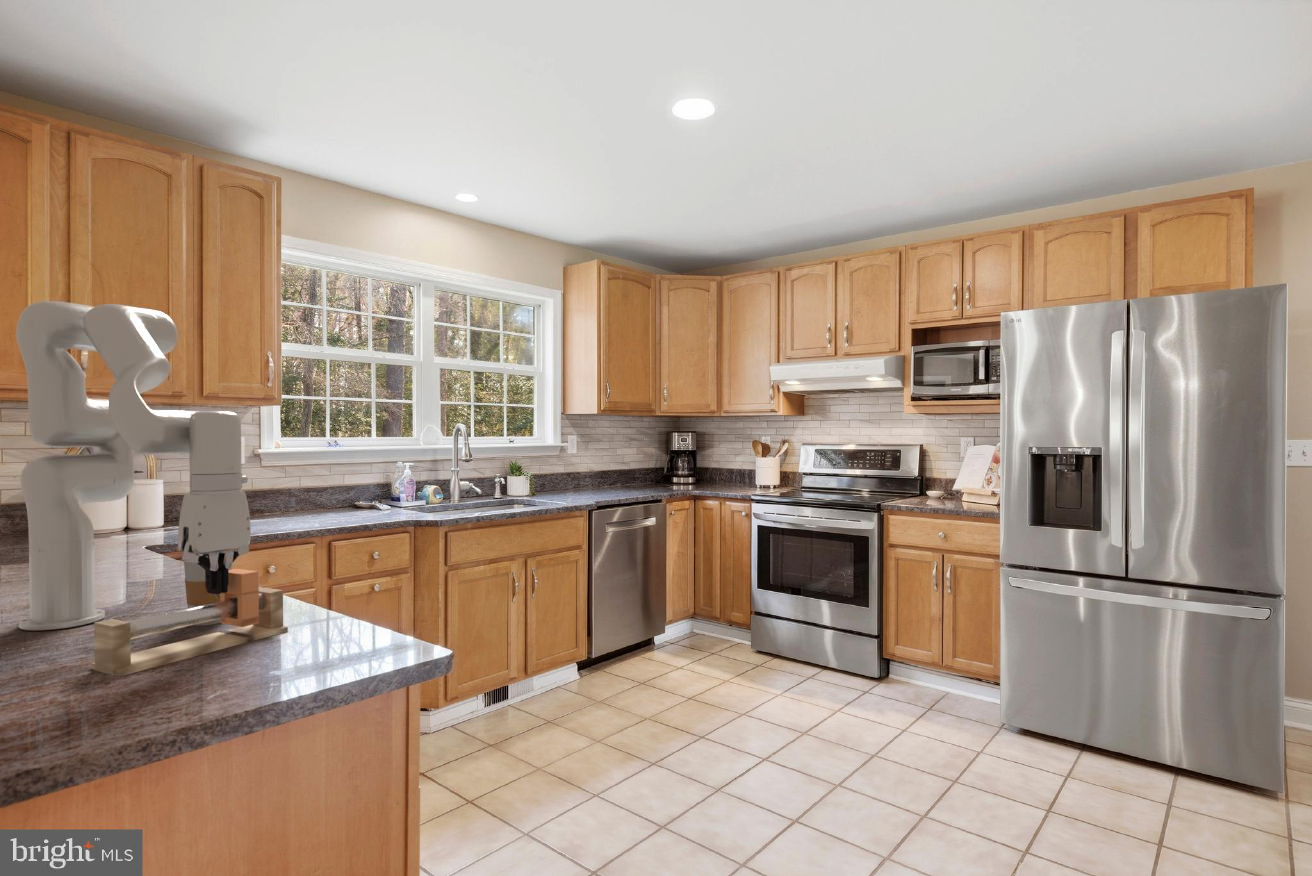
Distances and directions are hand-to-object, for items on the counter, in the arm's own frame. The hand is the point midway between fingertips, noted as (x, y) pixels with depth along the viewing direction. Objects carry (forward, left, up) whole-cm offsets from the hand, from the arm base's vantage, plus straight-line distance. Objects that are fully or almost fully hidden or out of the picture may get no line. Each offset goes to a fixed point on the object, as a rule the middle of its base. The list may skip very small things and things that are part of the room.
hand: (217, 592), depth 124 cm
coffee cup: (-16, +8, -9) cm, 20 cm away
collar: (0, +4, -6) cm, 7 cm away
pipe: (0, -3, -5) cm, 6 cm away
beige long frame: (0, -3, -9) cm, 9 cm away
